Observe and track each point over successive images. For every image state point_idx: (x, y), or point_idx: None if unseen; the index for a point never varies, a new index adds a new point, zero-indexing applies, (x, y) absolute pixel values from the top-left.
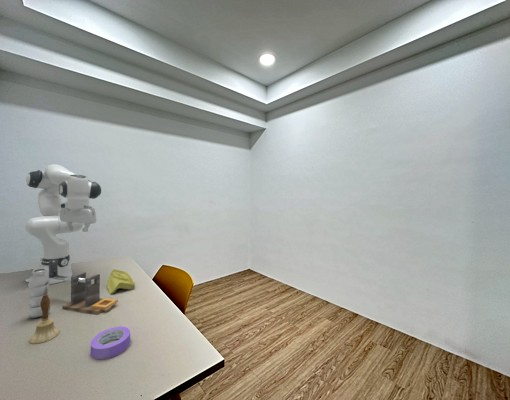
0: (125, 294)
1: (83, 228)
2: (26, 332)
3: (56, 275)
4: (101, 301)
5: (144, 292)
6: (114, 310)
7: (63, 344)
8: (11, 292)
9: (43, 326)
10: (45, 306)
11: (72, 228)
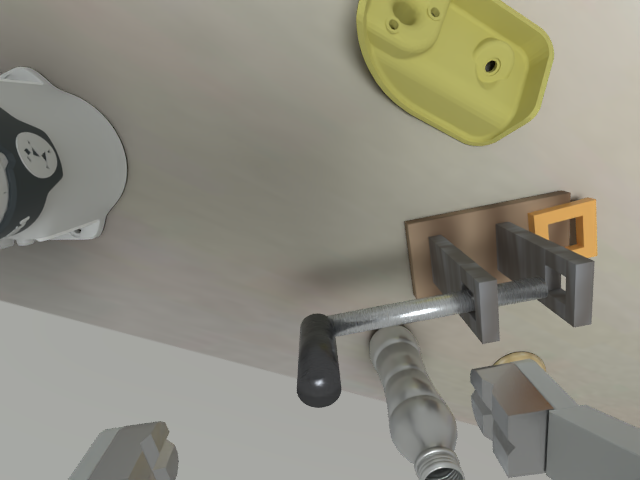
0: (539, 116)
1: (532, 471)
2: (453, 386)
3: (342, 332)
4: (544, 237)
5: (613, 57)
6: None
7: (593, 373)
8: (91, 308)
9: None
10: None
11: (147, 462)
